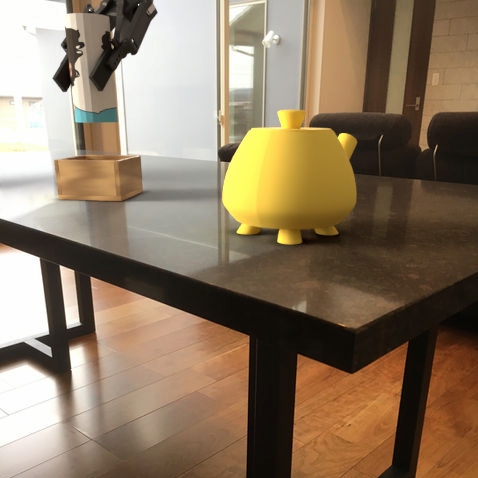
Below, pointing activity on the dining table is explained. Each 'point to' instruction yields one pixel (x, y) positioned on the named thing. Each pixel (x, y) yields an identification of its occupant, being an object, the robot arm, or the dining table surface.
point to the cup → (89, 67)
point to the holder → (98, 177)
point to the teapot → (291, 179)
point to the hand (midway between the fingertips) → (77, 84)
